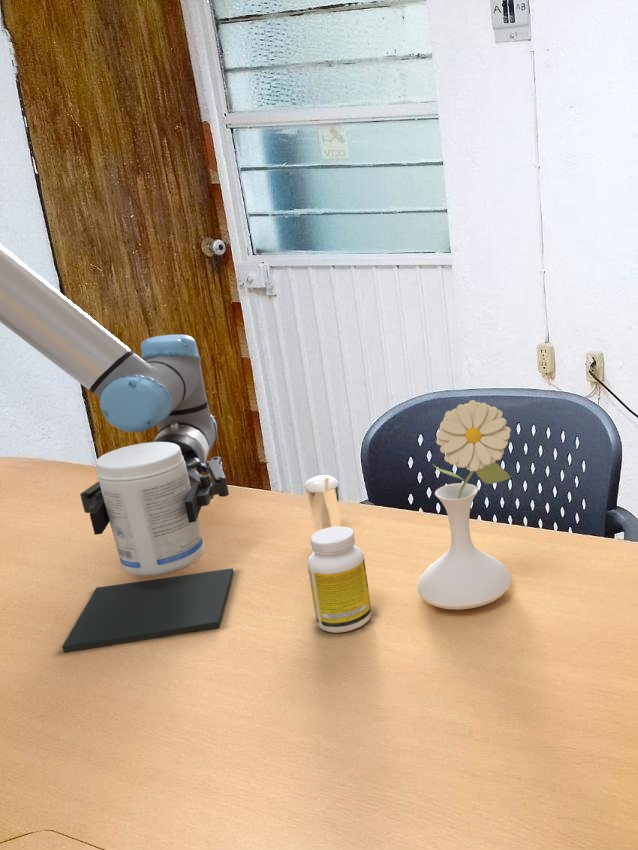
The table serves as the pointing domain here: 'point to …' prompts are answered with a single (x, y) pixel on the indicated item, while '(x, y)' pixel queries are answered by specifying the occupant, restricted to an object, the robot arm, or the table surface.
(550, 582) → the table surface
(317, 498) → the milkshake
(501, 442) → the flower in vase
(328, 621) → the pill bottle
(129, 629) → the mat
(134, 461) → the supplement tub
